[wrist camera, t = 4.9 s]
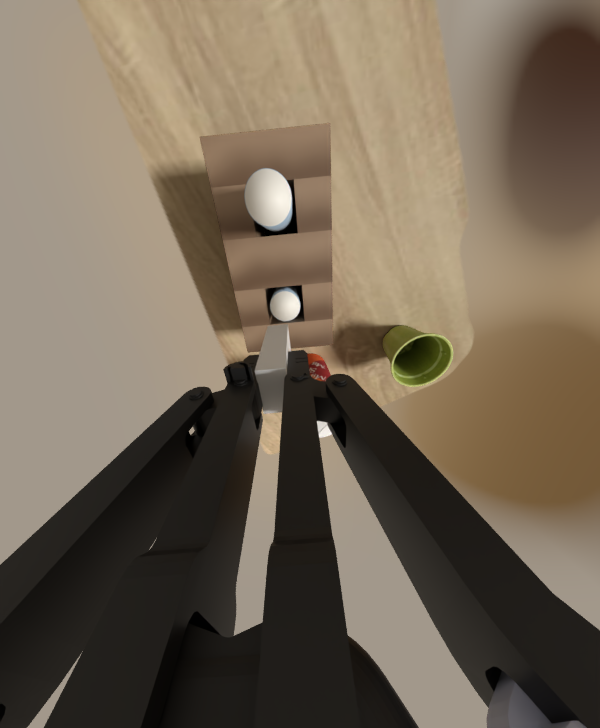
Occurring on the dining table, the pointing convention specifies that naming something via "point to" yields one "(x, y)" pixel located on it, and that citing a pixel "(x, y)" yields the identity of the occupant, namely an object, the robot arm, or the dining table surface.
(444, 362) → the plant pot
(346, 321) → the dining table surface
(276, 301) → the peg
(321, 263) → the collar block
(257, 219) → the peg
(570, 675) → the robot arm
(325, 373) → the coffee cup
